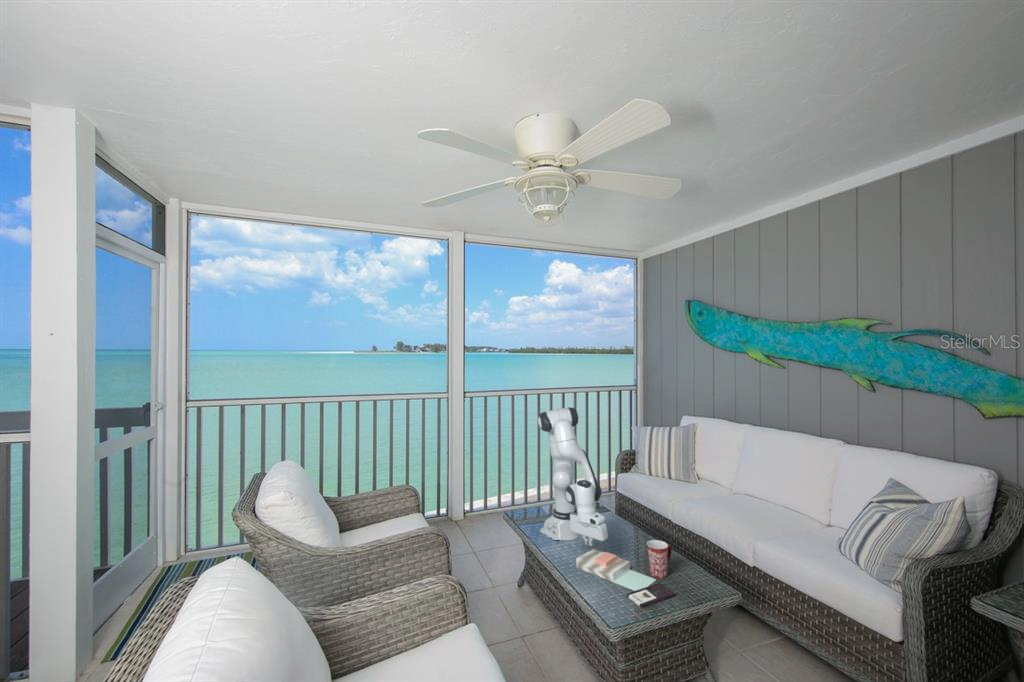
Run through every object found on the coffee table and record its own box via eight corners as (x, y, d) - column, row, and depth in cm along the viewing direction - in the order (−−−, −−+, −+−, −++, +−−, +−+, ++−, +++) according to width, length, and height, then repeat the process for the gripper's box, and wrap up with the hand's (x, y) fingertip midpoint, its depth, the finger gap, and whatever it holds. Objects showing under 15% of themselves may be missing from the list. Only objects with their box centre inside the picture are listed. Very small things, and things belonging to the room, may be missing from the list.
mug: (658, 581, 191) (657, 550, 191) (643, 572, 199) (642, 542, 199) (679, 574, 196) (678, 543, 197) (664, 565, 204) (663, 536, 205)
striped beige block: (576, 567, 205) (576, 558, 206) (593, 556, 215) (593, 548, 215) (613, 582, 191) (612, 573, 191) (629, 570, 201) (629, 561, 201)
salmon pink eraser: (595, 562, 201) (595, 558, 201) (606, 556, 207) (606, 551, 207) (606, 567, 197) (606, 562, 197) (617, 560, 203) (617, 555, 203)
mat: (611, 581, 192) (611, 580, 192) (628, 569, 202) (627, 568, 202) (640, 593, 182) (640, 592, 182) (656, 580, 192) (656, 579, 192)
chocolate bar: (675, 593, 179) (641, 605, 171) (675, 596, 179) (641, 608, 171) (659, 582, 187) (626, 593, 179) (659, 584, 187) (626, 595, 179)
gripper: (565, 513, 214) (568, 541, 213) (600, 522, 199) (602, 553, 198) (573, 509, 218) (576, 537, 218) (608, 518, 203) (610, 548, 203)
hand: (589, 545), depth 208 cm, fingers closed
